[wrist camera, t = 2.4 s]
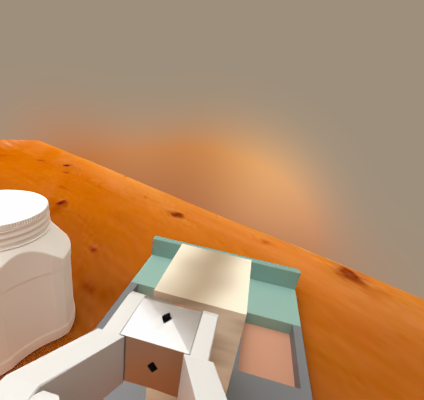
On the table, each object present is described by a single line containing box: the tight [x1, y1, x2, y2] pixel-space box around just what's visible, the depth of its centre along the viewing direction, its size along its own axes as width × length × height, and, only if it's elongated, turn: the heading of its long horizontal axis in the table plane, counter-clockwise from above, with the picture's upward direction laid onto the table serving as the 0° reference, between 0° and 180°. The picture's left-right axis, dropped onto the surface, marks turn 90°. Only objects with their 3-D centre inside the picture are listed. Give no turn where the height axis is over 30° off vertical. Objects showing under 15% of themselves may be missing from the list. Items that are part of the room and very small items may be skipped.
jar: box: [0, 190, 75, 376], centre depth 26 cm, size 12×10×15 cm
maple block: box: [146, 244, 252, 400], centre depth 21 cm, size 6×6×13 cm
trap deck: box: [94, 236, 313, 400], centre depth 31 cm, size 23×22×5 cm
